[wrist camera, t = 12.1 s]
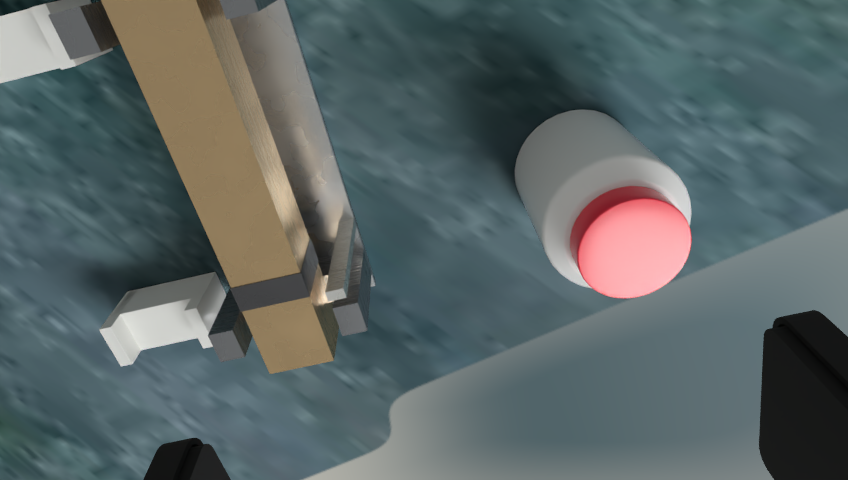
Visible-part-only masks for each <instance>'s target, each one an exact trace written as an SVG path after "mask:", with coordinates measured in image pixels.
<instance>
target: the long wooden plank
mask: <svg viewBox="0 0 848 480" xmlns="http://www.w3.org/2000/svg"><path fill="white" fill-rule="evenodd" d="M101 2H102V4H103V6H104V8H105V10H106V13H107V15H108V17H109V19H110V21H111V24H112V26H113V28H114V30H115V32H116V35H117V37H118V39H119V41H120V44H121V46H122V48H123V50H124V52H125V55H126V57H127V59H128V61H129V63H130V66H131V68H132V70H133V72H134V74H135V77H136V79H137V81H138V83H139V86H140V88H141V90H142V92H143V94H144V97H145V99H146V101H147V103H148V105H149V108H150V110H151V112H152V114H153V116H154V119H155V121H156V123H157V125H158V128H159V130H160V132H161V134H162V136H163V139H164V141H165V143H166V145H167V147H168V150H169V152H170V154H171V156H172V158H173V161H174V163H175V165H176V167H177V170H178V172H179V174H180V176H181V178H182V181H183V183H184V185H185V187H186V189H187V192H188V194H189V196H190V198H191V200H192V203H193V205H194V207H195V209H196V212H197V214H198V216H199V218H200V220H201V223H202V225H203V227H204V229H205V231H206V234H207V236H208V238H209V240H210V242H211V245H212V247H213V249H214V251H215V253H216V256H217V258H218V260H219V262H220V265H221V267H222V269H223V271H224V273H225V276H226V278H227V280H228V282H229V284H230V287H231V288H230V290H231V292H232V294H233V296H234V299H235V301H236V303H237V305H238V307H239V310H240V312H242V313H243V315H244V318H245V320H246V322H247V324H248V326H249V329H250V331H251V333H252V335H253V337H254V340H255V342H256V344H257V346H258V349H259V351H260V353H261V355H262V357H263V360H264V362H265V364H266V366H267V368H268V371H269V373H270V374H272V373H277V372H282V371H287V370H291V369H296V368H301V367H306V366H310V365H315V364H320V363H325V362H329V361H334V356H335V349H336V343H337V336H338V329H339V325H338V322H337V320H336V317H335V314H334V311H333V309H332V308H333V302H332V301H330V302H328V299H327V297H326V294H325V289H326V283H325V280H324V277H323V275H322V272H321V269H320V266H319V263H318V258H317V255H316V252H315V249H314V247H313V244H312V241H311V239H309V236H308V233H307V230H306V228H305V225H304V222H303V219H302V217H301V214H300V211H299V208H298V206H297V203H296V200H295V197H294V195H293V192H292V189H291V186H290V184H289V181H288V178H287V175H286V173H285V170H284V167H283V164H282V162H281V159H280V156H279V153H278V151H277V148H276V145H275V142H274V140H273V137H272V134H271V131H270V128H269V126H268V123H267V120H266V117H265V115H264V112H263V109H262V106H261V104H260V101H259V98H258V95H257V93H256V90H255V87H254V84H253V82H252V79H251V76H250V73H249V71H248V68H247V65H246V62H245V60H244V57H243V54H242V51H241V49H240V46H239V43H238V40H237V38H236V35H235V32H234V29H233V27H232V24H231V21H230V19H228V20H226V17H225V14H224V12H223V9H222V6H221V3H220V1H219V0H101Z"/></svg>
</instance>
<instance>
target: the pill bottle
mask: <svg viewBox="0 0 848 480" xmlns="http://www.w3.org/2000/svg"><path fill="white" fill-rule="evenodd" d="M515 183H516V187H517V191H518V194H519V196H520V198H521V200H522V202H523V205H524V207H525V209H526V211H527V213H528V216H529V218H530V220H531V222H532V224H533V227H534V229H535V231H536V233H537V235H538V238H539V240H540V242H541V244H542V246H543V249H544V251H545V253H546V255H547V257H548V259H549V261H550V263H551V264H552V265H553V266H554V267H555V269H556V270H557V271H558V272H559V273H560V274H562V275H563V276H564V277H566V278H567V279H568V280H570V281H572V282H574V283H576V284H578V285H580V286H584V287H588V288H592V289H594V290H596V291H597V292H599V293H601V294H603V295H606V296H610V297H614V298H625V299H626V298H635V297H640V296H643V295H647V294H649V293H652V292H654V291H656V290H658V289H660V288H661V287H663V286H664V285H666V284H667V283H668V282H670V281H671V280H672V279H673V278H674V277H675V276H676V275H677V274H678V272H679V271H680V270H681V269H682V267H683V266H684V264H685V262H686V260H687V258H688V255H689V252H690V249H691V241H692V238H691V230H690V221H691V213H692V212H691V203H690V198H689V195H688V192H687V189H686V186H685V185H684V183H683V182H682V180H681V179H680V177H679V176H678V175H677V174H676V173H675V172H674V171H673V170H672V169H671V168H670V167H669V166H668V165H666V164H665V163H664V162H663V161H662V160H661V159H660V158H659V157H657V156H656V155H655V154H654V153H653V152H652V151H651V150H649V149H648V148H647V147H646V146H645V145H644V144H643V143H642V142H640V141H639V140H638V139H637V138H636V137H635V136H634V135H633V134H631V133H630V132H629V131H628V130H627V129H626V128H625V127H624V126H622V125H621V124H620V123H619V122H618V121H617V120H616V119H614V118H612V117H610V116H608V115H607V114H605V113H601V112H598V111H595V110H584V109H580V110H571V111H567V112H564V113H560V114H557V115H555V116H553V117H551V118H549V119H547V120H546V121H544V122H543V123H542V124H540V125H539V126H538V127H537V128H535V129H534V131H533V132H532V133H531V134H530V135H529V136H528V137H527V139H526V140H525V142H524V143H523V145H522V147H521V149H520V151H519V154H518V156H517V159H516V165H515Z"/></svg>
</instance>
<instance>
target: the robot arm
mask: <svg viewBox="0 0 848 480" xmlns="http://www.w3.org/2000/svg"><path fill="white" fill-rule="evenodd" d="M759 449H760V454H761V457H762V460H763V462H764V464H765V466H766V468H767V470H768V471H769V473H770V474H771V476H772V477H773V478H774V480H848V337H847V336H846V335H845V334H844V333H843V332H842V331H841V330H840V329H839V328H837V327H836V326H835V325H834V324H833V323H832V322H831V321H830V320H829V319H827V318H826V317H825V316H824V315H823V314H821V313H820V312H818V311H815V310H812V311H808V312H803V313H798V314H793V315H788V316H783V317H779V318H777V319H775V321H774V324H773V328H772V329H767V330H766V331H765V333H764V343H763V367H762V391H761V413H760V436H759ZM144 480H230V478H229V476H228V474H227V472H226V470H225V469H224V467H223V465H222V463H221V461H220V460H219V458H218V456H217V454H216V452H215V451H214V449H213V447H212V446H211V445H209V444H203V443H202V442H201V440H199V439H198V438H191V439H186V440H181V441H176V442H171V443H166V444H163V445H161V446H160V447H159V448H158V450H157V452H156V454H155V456H154V458H153V460H152V462H151V464H150V467H149V469H148V471H147V473H146V475H145V477H144Z"/></svg>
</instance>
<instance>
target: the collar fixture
mask: <svg viewBox="0 0 848 480" xmlns="http://www.w3.org/2000/svg"><path fill="white" fill-rule="evenodd" d="M219 1H220V3H221V6H222V9H223V12H224V14H225V17H226V20H228V19H230V21H231V24H232V27H233V29H234V32H235V35H236V38H237V40H238V43H239V46H240V49H241V51H242V54H243V57H244V60H245V62H246V65H247V68H248V71H249V73H250V76H251V79H252V82H253V84H254V87H255V90H256V93H257V95H258V98H259V101H260V104H261V106H262V109H263V112H264V115H265V117H266V120H267V123H268V126H269V128H270V131H271V134H272V137H273V140H274V142H275V145H276V148H277V151H278V153H279V156H280V159H281V162H282V164H283V167H284V170H285V173H286V175H287V178H288V181H289V184H290V186H291V189H292V192H293V195H294V197H295V200H296V203H297V206H298V208H299V211H300V214H301V217H302V219H303V222H304V225H305V228H306V230H307V233H308V236H309V239H311V241H312V244H313V247H314V249H315V252H316V255H317V258H318V263H319V266H320V269H321V272H322V275H323V277H324V280H325V283H326V289H325V294H326V297H327V299H328V302H330V301H332V302H333V308H332V309H333V311H334V314H335V317H336V320H337V322H338V325H339V328H340V330H341V333H342V336H345V335H349V334H354V333H359V332H363V331H367V328H368V315H369V301H370V288H371V287H372V286H375V285H376V281H375V278H374V275H373V272H372V269H371V266H370V263H369V259H368V256H367V253H366V250H365V247H364V244H363V240H362V237H361V234H360V231H359V228H358V225H357V222H356V218H355V215H354V212H353V209H352V206H351V203H350V200H349V196H348V193H347V190H346V187H345V184H344V181H343V178H342V174H341V171H340V168H339V165H338V162H337V159H336V156H335V152H334V149H333V146H332V143H331V140H330V137H329V133H328V130H327V127H326V124H325V121H324V118H323V115H322V111H321V108H320V105H319V102H318V99H317V96H316V93H315V89H314V86H313V83H312V80H311V77H310V74H309V71H308V67H307V64H306V61H305V58H304V55H303V52H302V49H301V45H300V42H299V39H298V36H297V33H296V30H295V27H294V23H293V20H292V17H291V14H290V11H289V8H288V4H287V1H286V0H219ZM48 16H49V18H50V20H51V22H52V24H53V26H54V28H55V30H56V32H57V34H58V36H59V38H60V40H61V42H62V44H63V46H64V48H65V50H66V52H67V54H68V56H69V58H70V60H72V59H76V58H80V57H84V56H88V55H92V54H96V53H99V52H103V51H105V50H107V49H110V48H112V47H114V46H117V45H119V44H120V41H119V39H118V37H117V35H116V32H115V30H114V28H113V26H112V24H111V21H110V19H109V17H108V15H107V13H106V10H105V8H104V6H103V4H102V2H101V1H99V2H95V3H91V4H87V5H83V6H79V7H75V8H72V9H68V10H64V11H60V12H56V13H53V14H49V15H48ZM230 288H231V287H230ZM252 336H253V335H252V333H251V331H250V329H249V326H248V324H247V322H246V320H245V318H244V315H243V313H242V312H240V310H239V307H238V305H237V303H236V301H235V299H234V296H233V294H232V292H231V290H230V289H229V291H228V293H227V295H226V297H225V299H224V302H223V304H222V306H221V308H220V310H219V312H218V314H217V317H216V319H215V321H214V323H213V325H212V327H211V330H210V332H209V334H208V337H209V339H210V341H211V343H212V345H213V347H214V349H215V351H216V353H217V355H218V357H219V359H220V361H221V362H224V361H228V360H233V359H238V358H242V357H245V355H246V352H247V350H248V347H249V344H250V341H251V338H252Z"/></svg>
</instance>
